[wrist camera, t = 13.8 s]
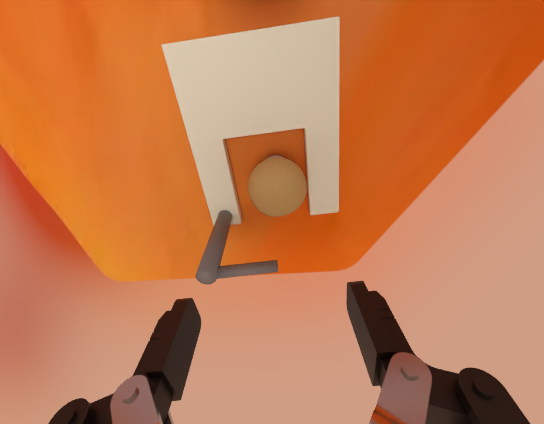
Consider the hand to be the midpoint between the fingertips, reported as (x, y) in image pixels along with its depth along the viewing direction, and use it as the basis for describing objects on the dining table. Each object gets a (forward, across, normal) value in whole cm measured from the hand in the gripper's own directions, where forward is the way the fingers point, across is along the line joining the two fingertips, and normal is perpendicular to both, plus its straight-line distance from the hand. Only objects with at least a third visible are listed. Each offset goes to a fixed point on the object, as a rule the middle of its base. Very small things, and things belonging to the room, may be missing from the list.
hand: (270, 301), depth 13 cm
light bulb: (+23, -1, 0) cm, 23 cm away
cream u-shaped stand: (+23, 0, -4) cm, 23 cm away
